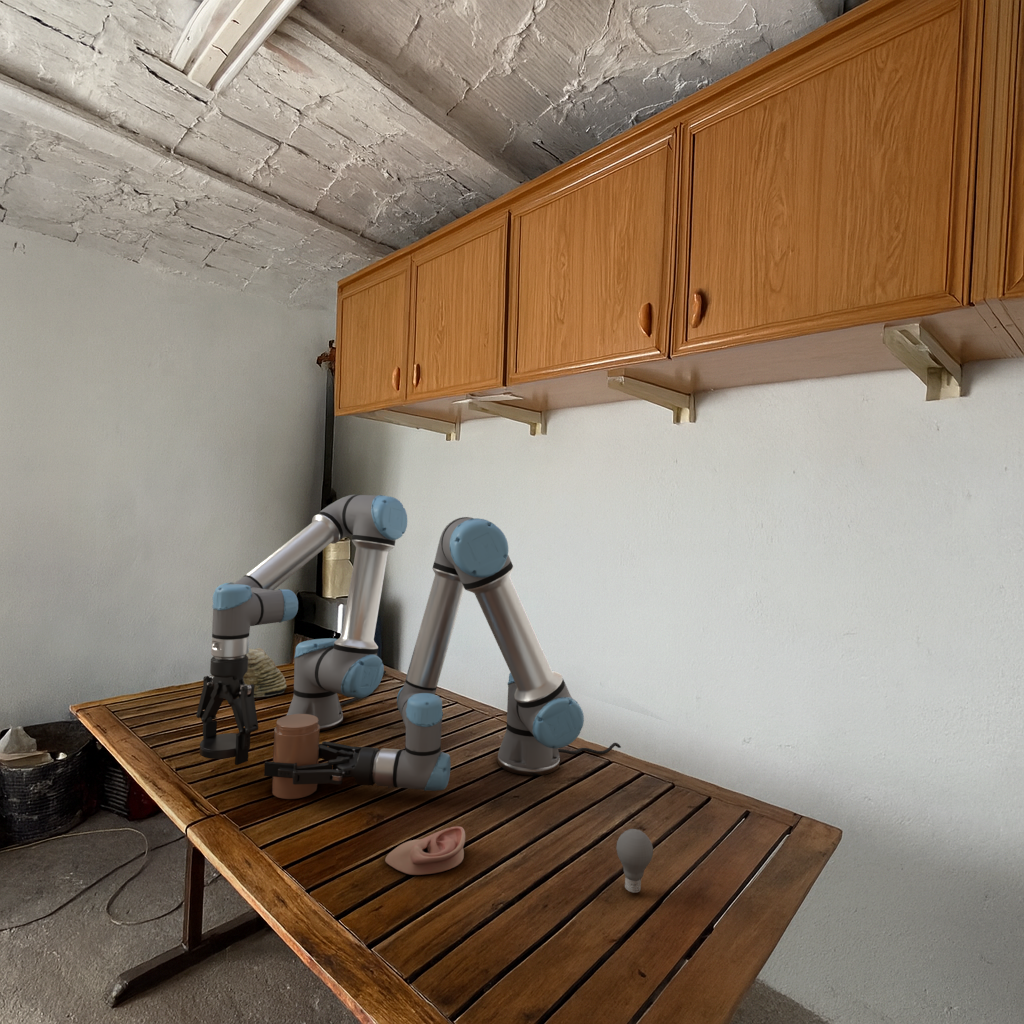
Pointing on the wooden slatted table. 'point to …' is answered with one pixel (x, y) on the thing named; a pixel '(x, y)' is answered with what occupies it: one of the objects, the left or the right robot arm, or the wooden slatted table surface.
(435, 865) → the anatomical model
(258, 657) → the fossil
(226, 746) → the lid
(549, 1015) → the wooden slatted table surface
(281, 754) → the jar
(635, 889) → the light bulb
